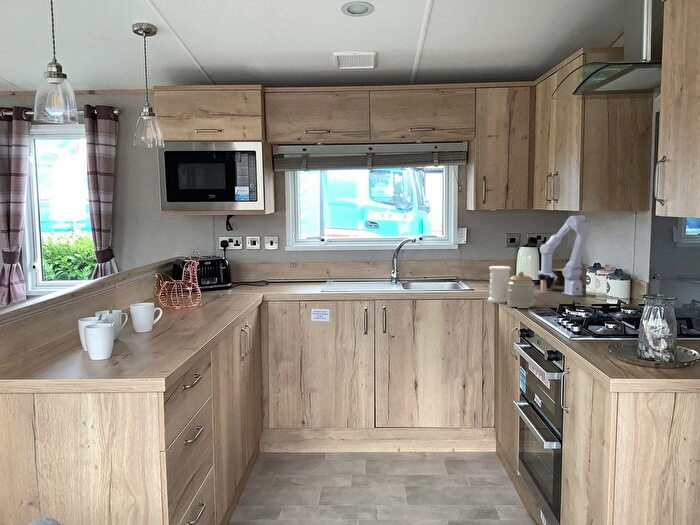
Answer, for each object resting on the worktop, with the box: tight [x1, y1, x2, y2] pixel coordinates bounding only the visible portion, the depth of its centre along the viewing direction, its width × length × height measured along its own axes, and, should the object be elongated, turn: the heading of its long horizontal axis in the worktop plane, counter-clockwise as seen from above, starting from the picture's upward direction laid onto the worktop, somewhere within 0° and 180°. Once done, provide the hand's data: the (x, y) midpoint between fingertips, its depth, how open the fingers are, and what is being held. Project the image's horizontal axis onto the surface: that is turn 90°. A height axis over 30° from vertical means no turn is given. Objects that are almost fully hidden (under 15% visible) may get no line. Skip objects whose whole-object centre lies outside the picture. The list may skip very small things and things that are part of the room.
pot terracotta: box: [540, 280, 552, 291], centre depth 319 cm, size 6×6×6 cm
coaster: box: [534, 289, 552, 295], centre depth 312 cm, size 10×10×1 cm
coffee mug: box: [552, 268, 565, 287], centre depth 337 cm, size 12×9×10 cm
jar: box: [506, 271, 535, 308], centre depth 271 cm, size 13×13×18 cm
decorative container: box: [487, 265, 512, 304], centre depth 287 cm, size 12×12×18 cm
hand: (545, 287), depth 320 cm, fingers closed on pot terracotta, 5 cm apart
